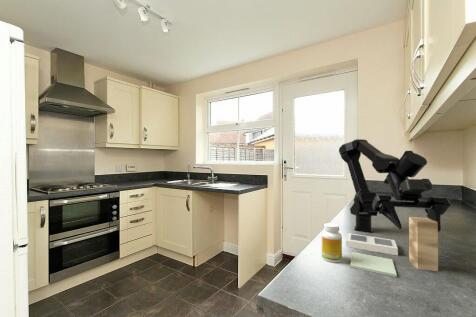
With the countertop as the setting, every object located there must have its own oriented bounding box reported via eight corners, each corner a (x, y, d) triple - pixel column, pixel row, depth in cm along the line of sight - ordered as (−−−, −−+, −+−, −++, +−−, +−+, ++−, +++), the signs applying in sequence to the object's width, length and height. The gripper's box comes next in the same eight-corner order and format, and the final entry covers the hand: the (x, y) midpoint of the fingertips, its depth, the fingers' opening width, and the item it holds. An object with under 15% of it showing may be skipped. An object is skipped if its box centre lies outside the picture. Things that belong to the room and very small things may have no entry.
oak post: (409, 261, 63) (409, 217, 63) (428, 263, 62) (427, 218, 62) (417, 268, 59) (417, 220, 59) (438, 271, 57) (437, 222, 58)
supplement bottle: (344, 264, 61) (344, 228, 61) (323, 262, 62) (323, 226, 62) (339, 256, 66) (339, 223, 66) (320, 254, 67) (320, 221, 67)
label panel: (347, 238, 82) (347, 232, 82) (394, 246, 75) (394, 239, 75) (346, 246, 74) (346, 239, 74) (397, 255, 67) (397, 248, 67)
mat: (352, 254, 68) (352, 252, 68) (392, 261, 63) (392, 259, 63) (350, 267, 59) (350, 264, 59) (396, 277, 54) (396, 274, 54)
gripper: (374, 168, 70) (389, 211, 59) (446, 169, 66) (476, 215, 55) (367, 191, 78) (379, 232, 67) (430, 193, 73) (454, 238, 62)
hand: (419, 229), depth 62 cm, fingers open, 9 cm apart
